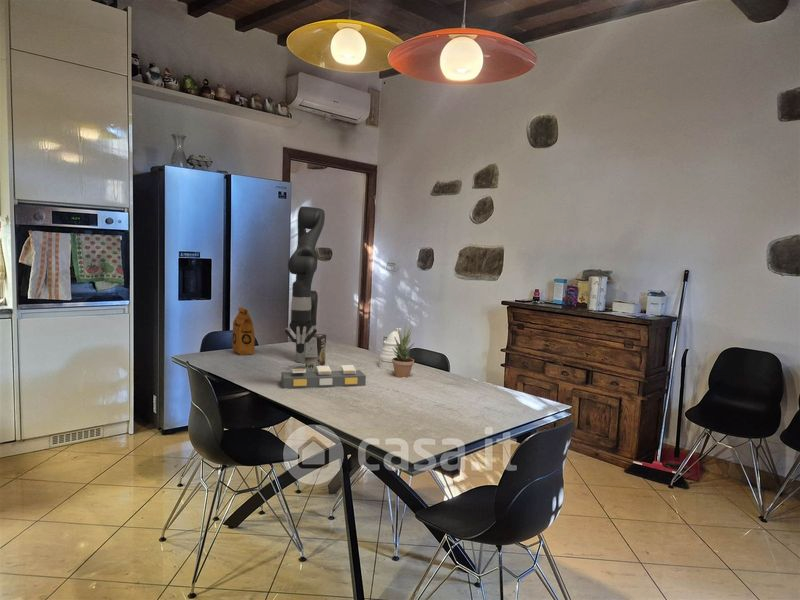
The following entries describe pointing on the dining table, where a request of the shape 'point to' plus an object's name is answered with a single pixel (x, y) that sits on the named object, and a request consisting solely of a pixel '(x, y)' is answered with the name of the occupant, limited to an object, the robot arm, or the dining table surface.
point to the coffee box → (315, 352)
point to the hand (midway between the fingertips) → (299, 352)
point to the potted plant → (403, 356)
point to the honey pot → (389, 350)
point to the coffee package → (243, 333)
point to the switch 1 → (298, 370)
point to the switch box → (321, 379)
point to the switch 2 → (323, 370)
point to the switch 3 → (348, 369)
